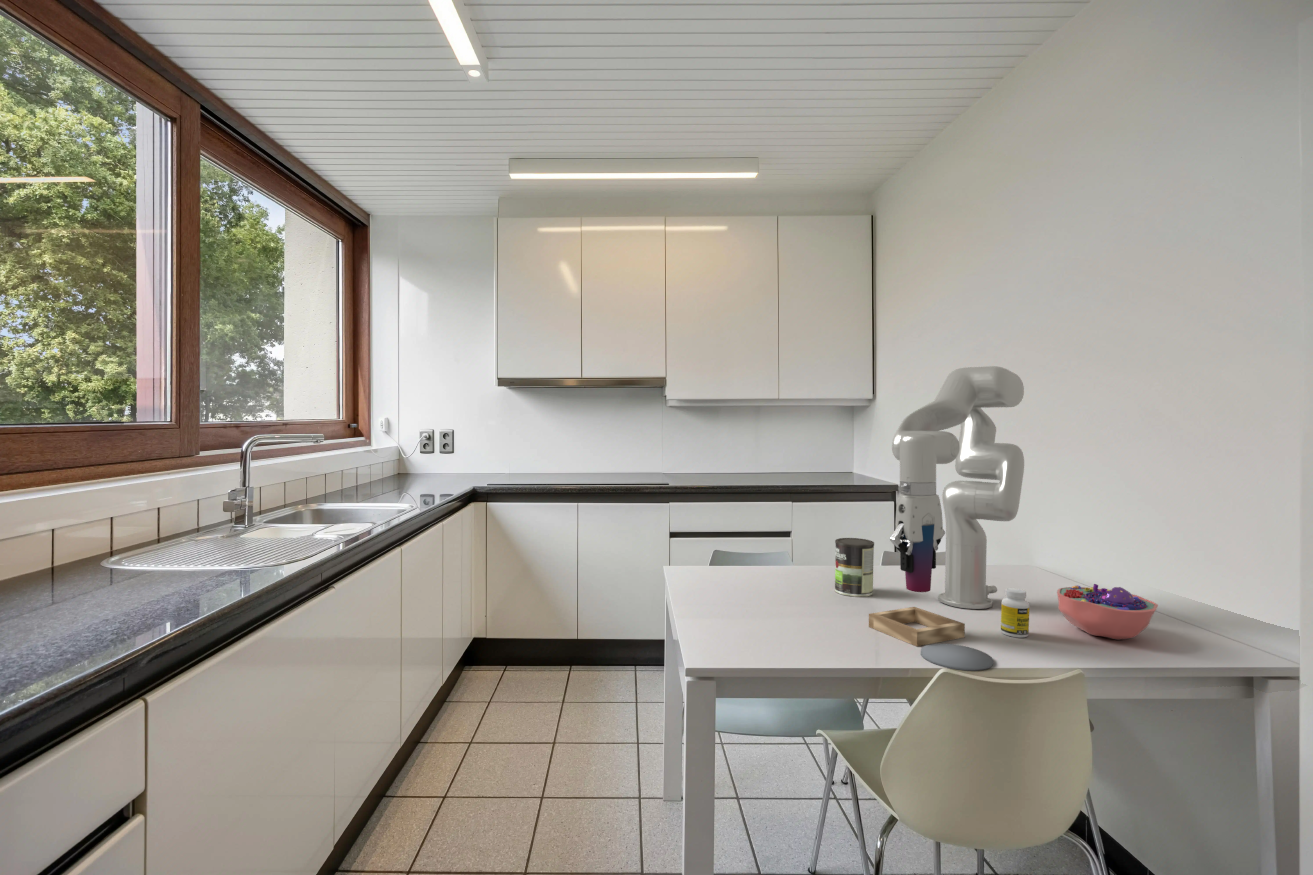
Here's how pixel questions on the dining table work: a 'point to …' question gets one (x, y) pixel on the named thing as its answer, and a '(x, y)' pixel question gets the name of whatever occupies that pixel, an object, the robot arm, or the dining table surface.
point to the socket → (933, 633)
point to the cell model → (1105, 611)
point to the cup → (921, 562)
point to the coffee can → (854, 567)
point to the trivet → (956, 657)
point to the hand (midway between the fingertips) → (918, 568)
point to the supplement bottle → (1015, 613)
